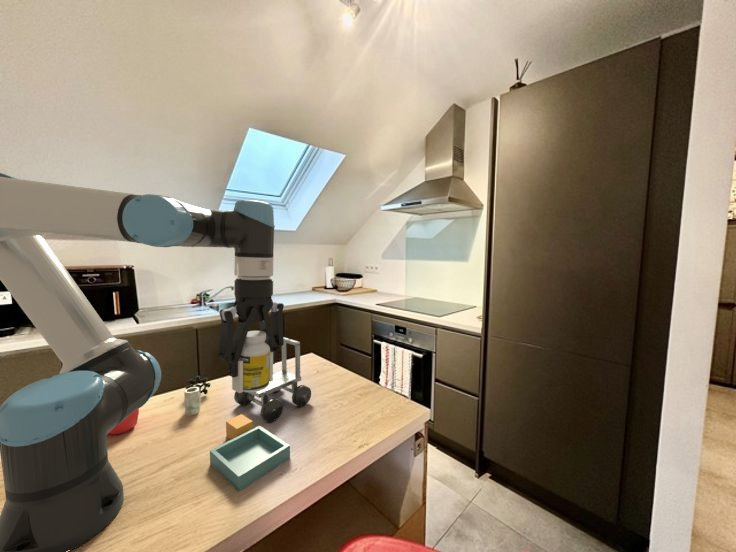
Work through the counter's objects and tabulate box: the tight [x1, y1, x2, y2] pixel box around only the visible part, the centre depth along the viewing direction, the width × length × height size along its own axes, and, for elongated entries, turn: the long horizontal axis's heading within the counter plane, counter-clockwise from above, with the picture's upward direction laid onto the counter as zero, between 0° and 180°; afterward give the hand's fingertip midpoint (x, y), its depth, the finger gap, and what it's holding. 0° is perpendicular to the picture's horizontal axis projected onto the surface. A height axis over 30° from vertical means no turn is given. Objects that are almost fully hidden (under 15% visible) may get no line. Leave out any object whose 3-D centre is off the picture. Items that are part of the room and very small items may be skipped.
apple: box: [108, 408, 140, 436], centre depth 75 cm, size 8×8×8 cm
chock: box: [225, 413, 254, 441], centre depth 73 cm, size 4×5×4 cm
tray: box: [209, 425, 291, 492], centre depth 65 cm, size 12×12×3 cm
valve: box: [182, 375, 211, 417], centre depth 87 cm, size 7×7×12 cm
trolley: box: [233, 336, 312, 423], centre depth 87 cm, size 16×15×18 cm
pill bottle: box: [240, 330, 270, 392], centre depth 64 cm, size 6×6×12 cm
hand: (253, 384), depth 65 cm, fingers closed on pill bottle, 6 cm apart
